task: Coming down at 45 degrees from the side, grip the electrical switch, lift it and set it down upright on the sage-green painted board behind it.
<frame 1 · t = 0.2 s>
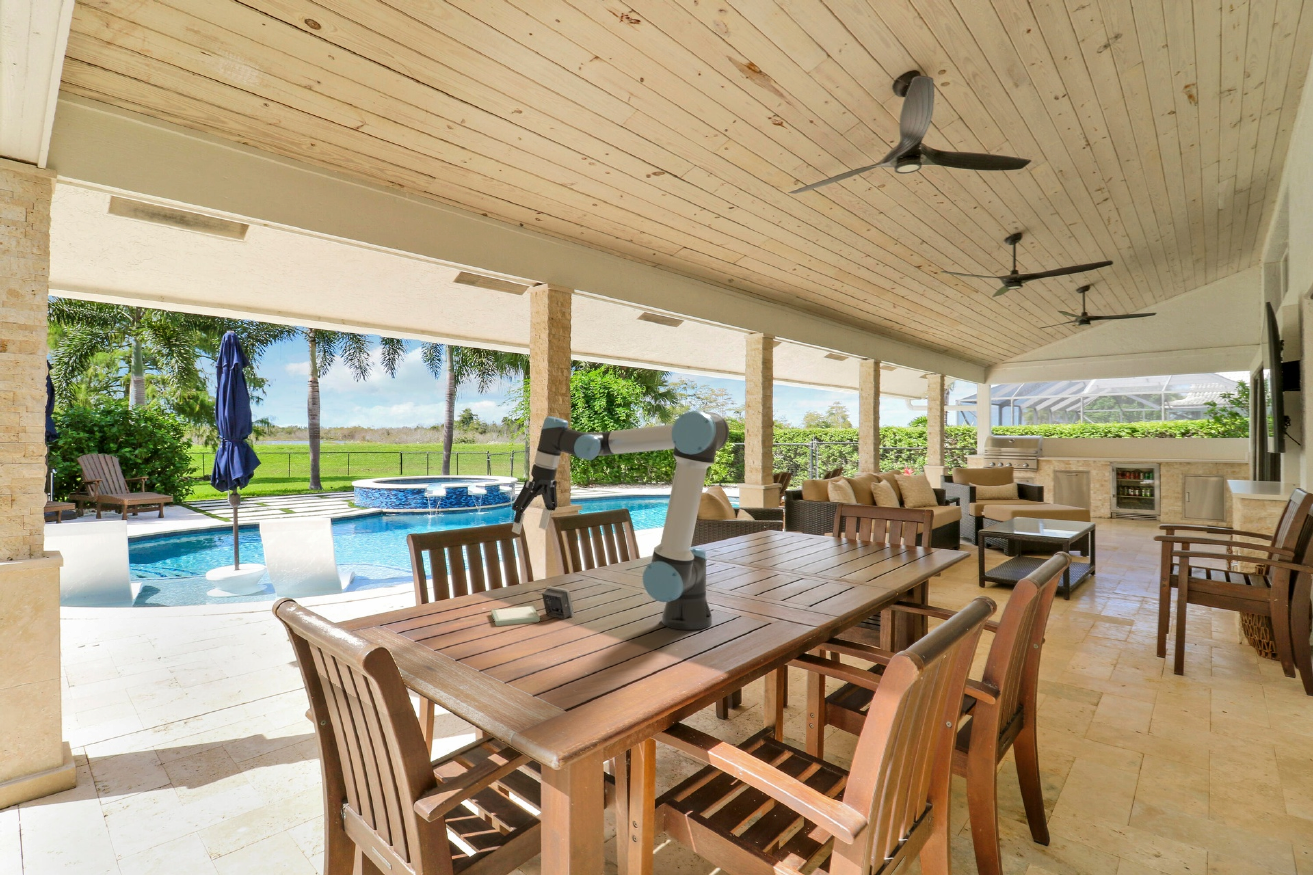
hand: (529, 530, 196), 27 cm above the table, tool tilted 15°, fingers open, 13 cm apart
board: (515, 617, 194), on the table
electrical switch: (558, 617, 196), on the table
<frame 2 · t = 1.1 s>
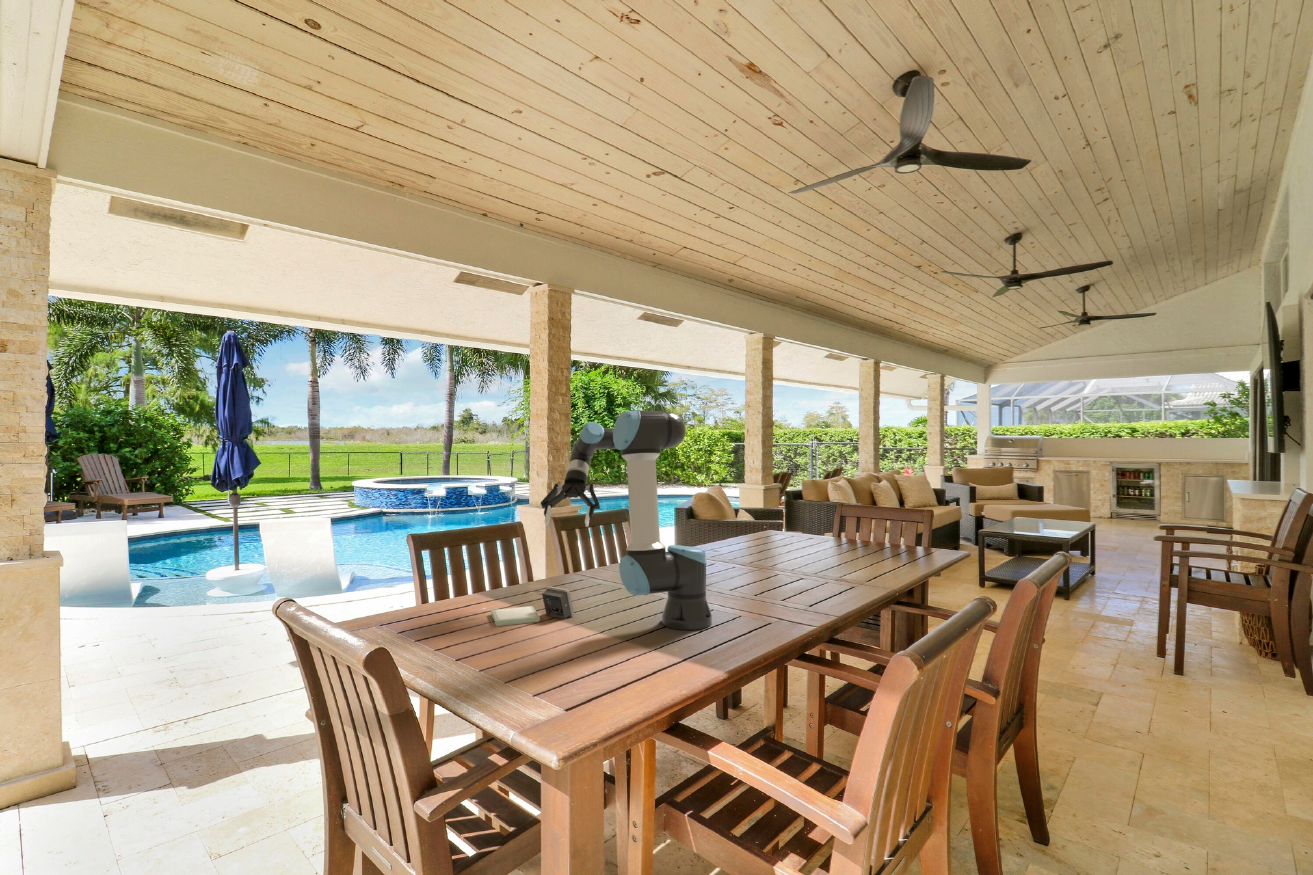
hand: (566, 524, 206), 28 cm above the table, tool tilted 45°, fingers open, 13 cm apart
nothing on the table moved.
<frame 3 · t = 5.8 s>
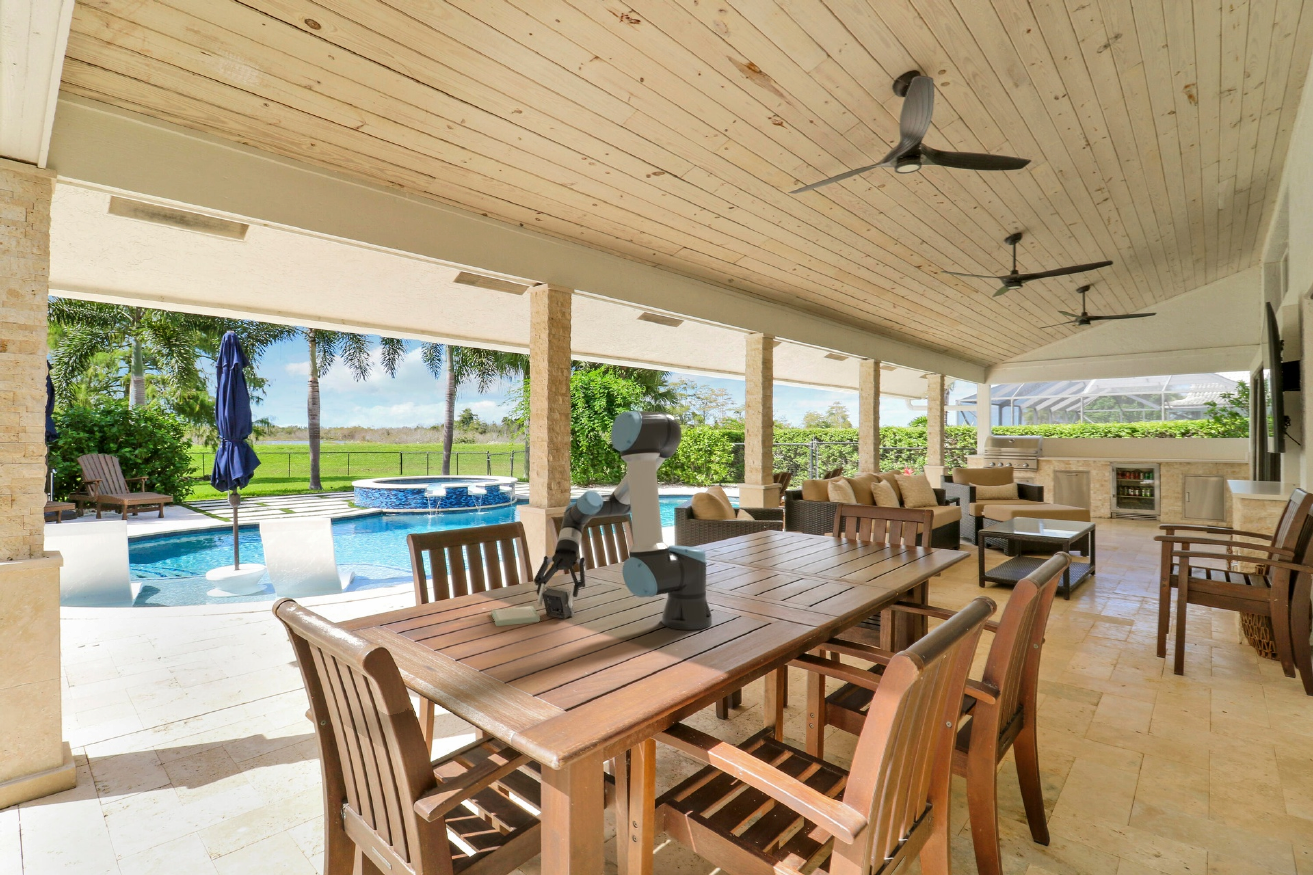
hand: (554, 604, 193), 4 cm above the table, tool tilted 45°, fingers closed on electrical switch, 9 cm apart
electrical switch: (558, 616, 196), on the table, touching gripper
when the fingers open (7 cm above the table, at t = 10.8 s): electrical switch drops 1 cm, resting on board.
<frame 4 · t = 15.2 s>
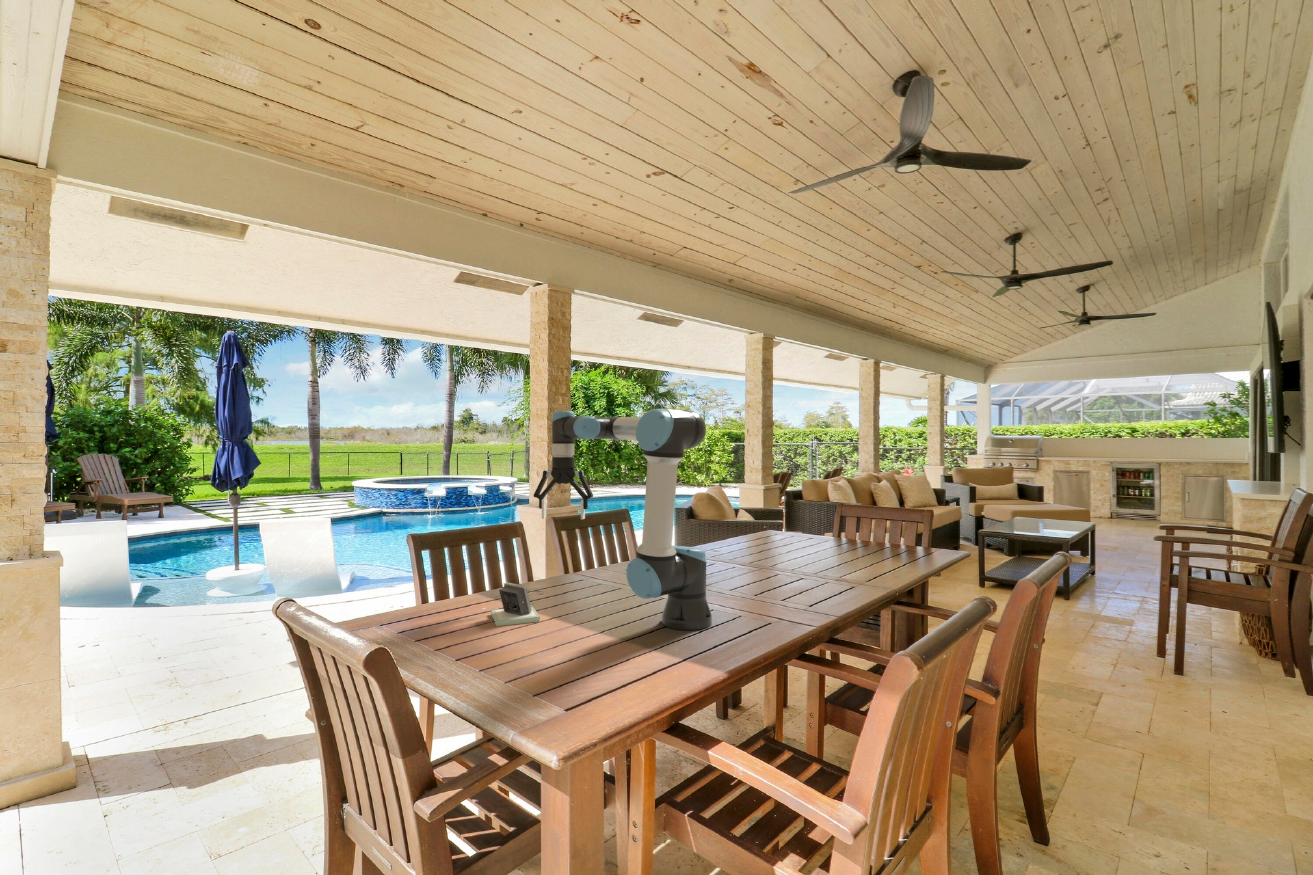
hand: (563, 518, 211), 29 cm above the table, tool pointing down, fingers open, 13 cm apart
electrical switch: (515, 613, 194), point 1 cm above the table, touching board
at the end: electrical switch inside the target area on the board (0.4 cm from its centre), point 1.4 cm above the board's base; electrical switch tilted 0°; the gripper is holding nothing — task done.
